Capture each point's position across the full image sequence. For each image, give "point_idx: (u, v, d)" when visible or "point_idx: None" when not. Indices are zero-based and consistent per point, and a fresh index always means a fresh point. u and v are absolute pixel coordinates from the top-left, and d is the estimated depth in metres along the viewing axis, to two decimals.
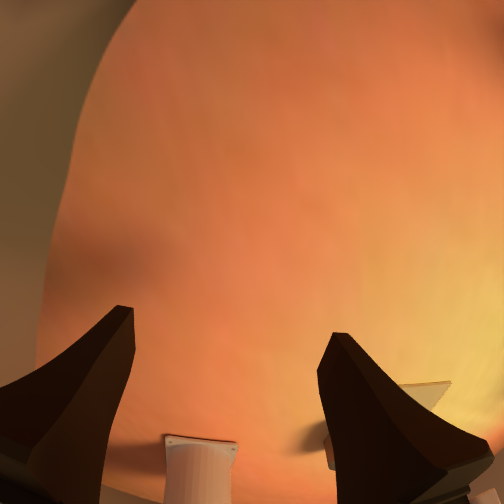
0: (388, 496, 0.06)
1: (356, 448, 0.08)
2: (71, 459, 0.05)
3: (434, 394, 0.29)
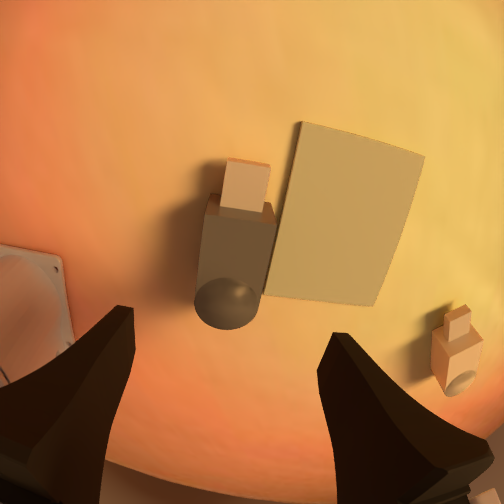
0: (388, 496, 0.06)
1: (356, 448, 0.08)
2: (71, 459, 0.05)
3: (397, 177, 0.18)
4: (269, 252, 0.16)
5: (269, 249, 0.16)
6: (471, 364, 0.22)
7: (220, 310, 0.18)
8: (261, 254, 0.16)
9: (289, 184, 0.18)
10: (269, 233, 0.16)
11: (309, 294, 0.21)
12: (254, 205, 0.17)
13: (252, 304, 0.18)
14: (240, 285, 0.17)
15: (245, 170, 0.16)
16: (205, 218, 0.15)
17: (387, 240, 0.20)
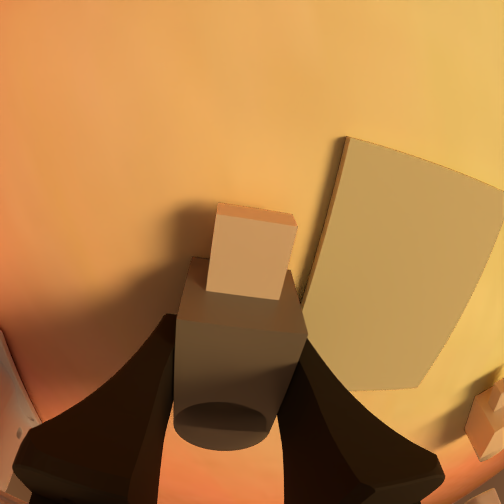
0: None
1: (299, 451, 0.08)
2: (147, 478, 0.05)
3: (477, 226, 0.11)
4: (291, 371, 0.09)
5: (291, 367, 0.09)
6: None
7: (213, 433, 0.11)
8: (277, 375, 0.09)
9: (322, 243, 0.11)
10: (293, 347, 0.09)
11: None
12: (266, 288, 0.10)
13: (261, 428, 0.10)
14: (242, 410, 0.10)
15: (250, 232, 0.09)
16: (178, 325, 0.08)
17: (450, 312, 0.13)
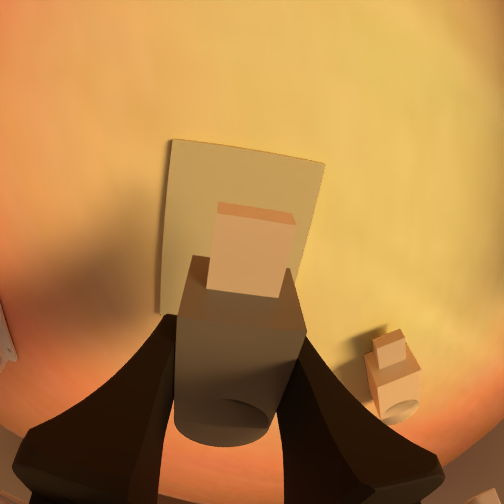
0: None
1: (299, 451, 0.08)
2: (147, 478, 0.05)
3: (290, 190, 0.17)
4: (290, 368, 0.09)
5: (291, 364, 0.09)
6: (410, 393, 0.21)
7: (213, 430, 0.11)
8: (277, 371, 0.09)
9: (166, 205, 0.17)
10: (292, 344, 0.09)
11: None
12: (266, 287, 0.10)
13: (260, 424, 0.11)
14: (242, 406, 0.10)
15: (250, 230, 0.09)
16: (179, 323, 0.08)
17: None
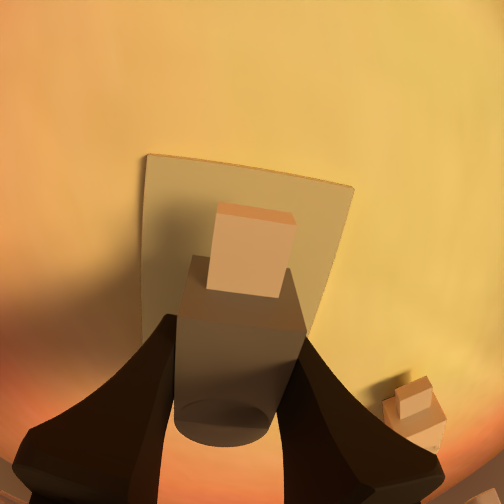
0: None
1: (298, 451, 0.08)
2: (147, 478, 0.05)
3: (307, 223, 0.13)
4: (290, 368, 0.09)
5: (291, 364, 0.09)
6: (431, 441, 0.17)
7: (213, 430, 0.11)
8: (277, 372, 0.09)
9: (142, 243, 0.13)
10: (292, 344, 0.09)
11: None
12: (266, 286, 0.10)
13: (260, 424, 0.11)
14: (242, 407, 0.10)
15: (250, 230, 0.09)
16: (179, 323, 0.08)
17: None
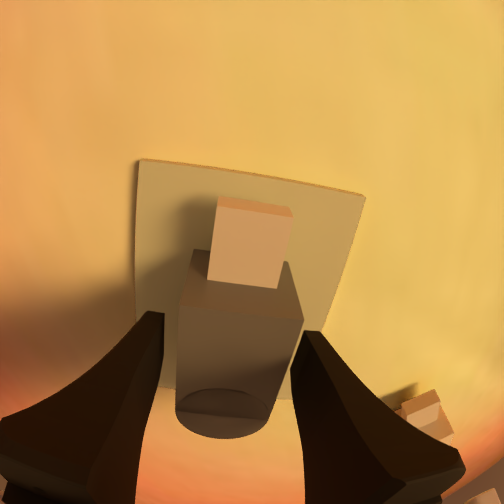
0: (348, 503, 0.05)
1: (321, 450, 0.08)
2: (117, 472, 0.05)
3: (314, 235, 0.12)
4: (289, 356, 0.10)
5: (289, 353, 0.10)
6: None
7: (214, 421, 0.11)
8: (275, 360, 0.10)
9: (135, 255, 0.12)
10: (290, 332, 0.09)
11: None
12: (264, 277, 0.10)
13: (260, 415, 0.11)
14: (242, 396, 0.10)
15: (249, 223, 0.09)
16: (181, 311, 0.09)
17: (303, 326, 0.14)
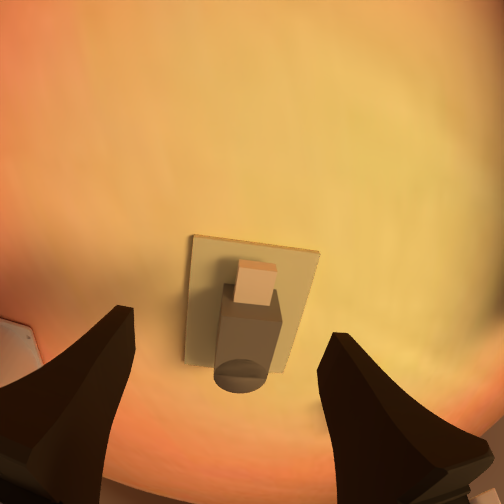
0: (388, 496, 0.06)
1: (356, 448, 0.08)
2: (71, 459, 0.05)
3: (291, 275, 0.21)
4: (276, 341, 0.19)
5: (276, 339, 0.19)
6: None
7: (235, 380, 0.21)
8: (269, 343, 0.19)
9: (189, 286, 0.21)
10: (276, 328, 0.19)
11: None
12: (263, 300, 0.20)
13: (261, 376, 0.20)
14: (252, 364, 0.20)
15: (255, 274, 0.19)
16: (222, 319, 0.18)
17: (287, 325, 0.23)
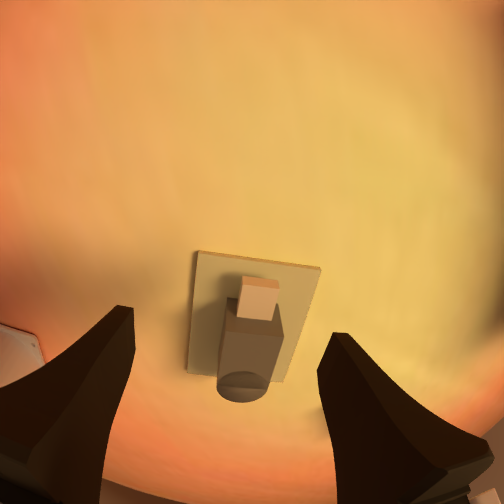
0: (388, 496, 0.06)
1: (356, 448, 0.08)
2: (71, 459, 0.05)
3: (292, 290, 0.22)
4: (277, 354, 0.20)
5: (277, 352, 0.20)
6: None
7: (237, 390, 0.21)
8: (270, 356, 0.20)
9: (193, 300, 0.22)
10: (277, 342, 0.19)
11: None
12: (265, 315, 0.20)
13: (263, 386, 0.21)
14: (253, 375, 0.20)
15: (258, 291, 0.19)
16: (226, 334, 0.19)
17: (287, 337, 0.24)
